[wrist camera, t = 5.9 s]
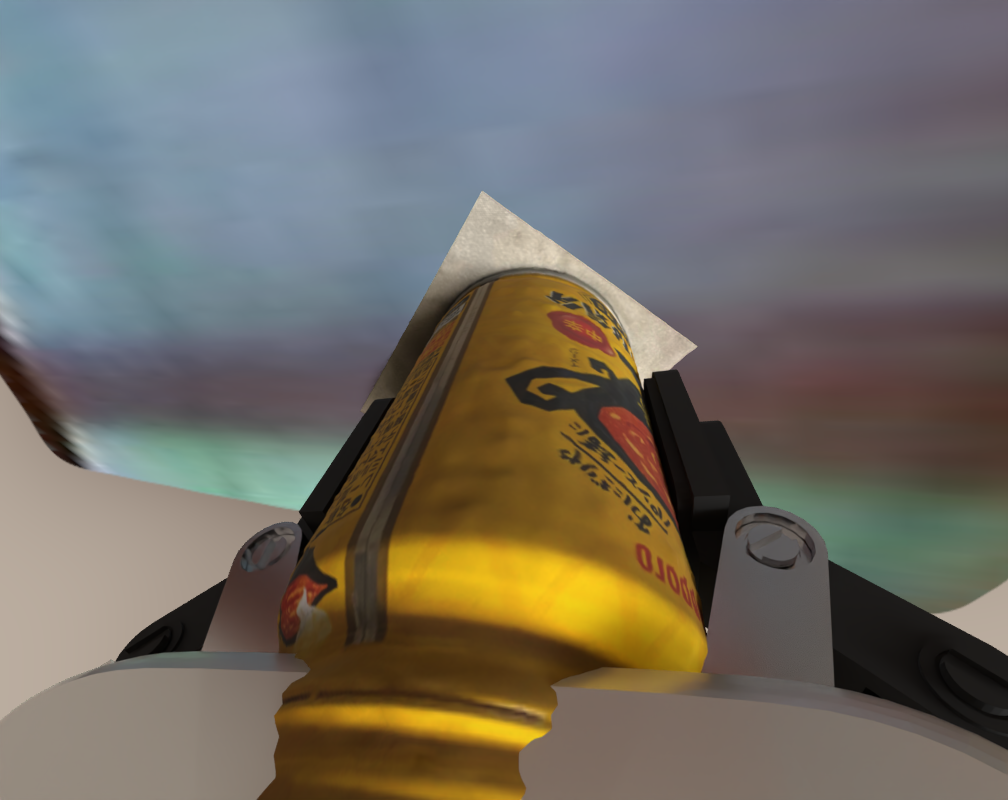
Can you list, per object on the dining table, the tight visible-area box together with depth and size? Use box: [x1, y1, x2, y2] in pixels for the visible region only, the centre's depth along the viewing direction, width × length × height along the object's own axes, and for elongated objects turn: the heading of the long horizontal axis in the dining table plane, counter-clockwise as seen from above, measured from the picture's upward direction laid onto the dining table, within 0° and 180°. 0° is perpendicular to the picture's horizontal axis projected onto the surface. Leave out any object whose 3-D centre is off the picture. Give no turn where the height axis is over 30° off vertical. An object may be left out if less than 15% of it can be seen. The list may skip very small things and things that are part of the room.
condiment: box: [257, 191, 708, 800], centre depth 9 cm, size 7×8×12 cm
